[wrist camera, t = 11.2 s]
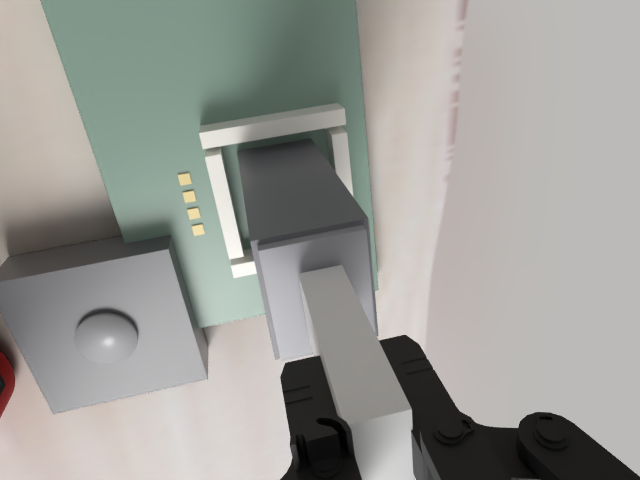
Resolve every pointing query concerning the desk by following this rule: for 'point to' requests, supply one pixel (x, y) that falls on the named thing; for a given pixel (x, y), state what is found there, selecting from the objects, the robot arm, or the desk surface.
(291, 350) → the plug
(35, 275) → the push button
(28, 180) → the desk surface
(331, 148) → the board
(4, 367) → the beverage can
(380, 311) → the desk surface
